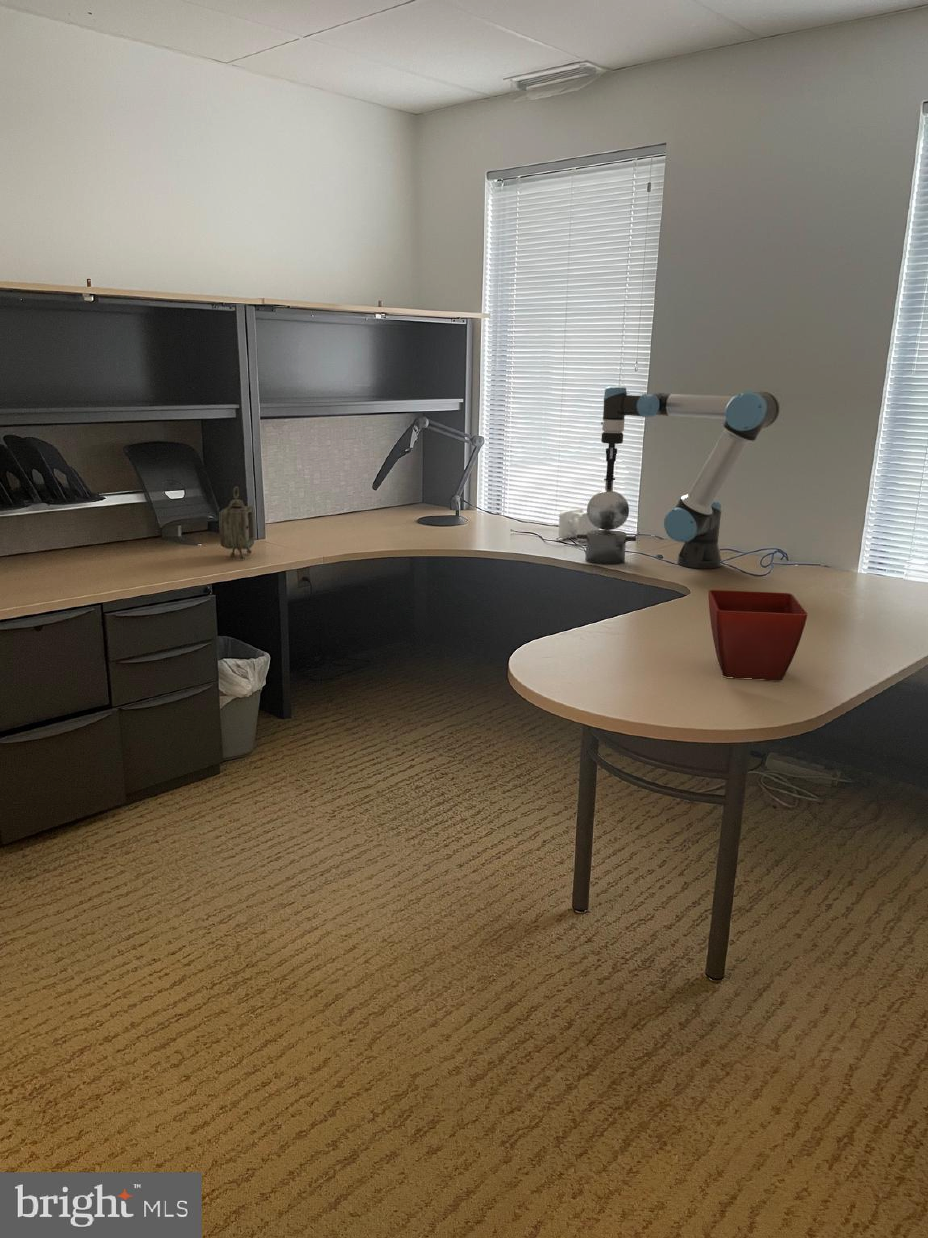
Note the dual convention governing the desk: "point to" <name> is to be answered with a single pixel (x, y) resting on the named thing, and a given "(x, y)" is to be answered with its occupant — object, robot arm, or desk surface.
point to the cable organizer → (574, 524)
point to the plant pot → (755, 632)
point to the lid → (607, 510)
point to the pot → (605, 546)
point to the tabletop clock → (237, 526)
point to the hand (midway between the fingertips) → (608, 498)
